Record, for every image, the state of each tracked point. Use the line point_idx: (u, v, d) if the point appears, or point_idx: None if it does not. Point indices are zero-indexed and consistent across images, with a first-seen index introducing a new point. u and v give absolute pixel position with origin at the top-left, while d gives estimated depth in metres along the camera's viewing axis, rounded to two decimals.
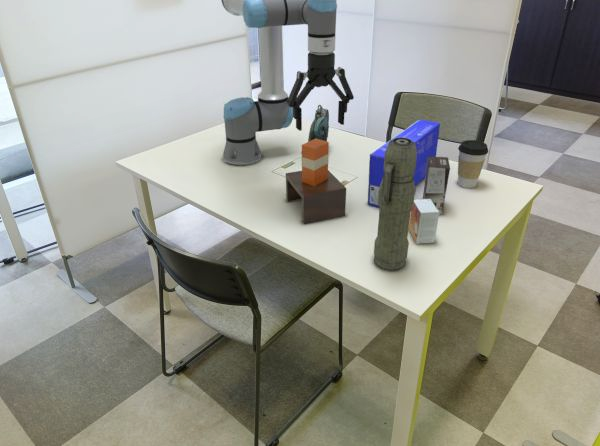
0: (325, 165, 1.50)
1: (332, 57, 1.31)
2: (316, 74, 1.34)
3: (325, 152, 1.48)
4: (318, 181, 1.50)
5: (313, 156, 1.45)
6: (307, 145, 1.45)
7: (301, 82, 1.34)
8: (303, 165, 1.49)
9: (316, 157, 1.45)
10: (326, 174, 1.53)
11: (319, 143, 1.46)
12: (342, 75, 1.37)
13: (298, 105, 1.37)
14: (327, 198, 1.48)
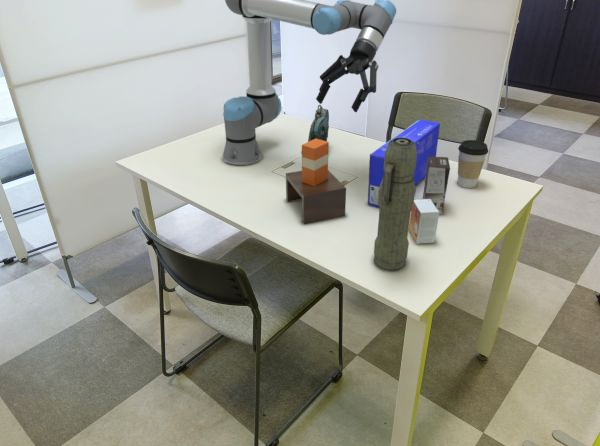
0: (325, 165, 1.50)
1: None
2: None
3: (325, 152, 1.48)
4: (318, 181, 1.50)
5: (313, 156, 1.45)
6: (307, 145, 1.45)
7: None
8: (303, 165, 1.49)
9: (316, 157, 1.45)
10: (326, 174, 1.53)
11: (319, 143, 1.46)
12: None
13: None
14: (327, 198, 1.48)
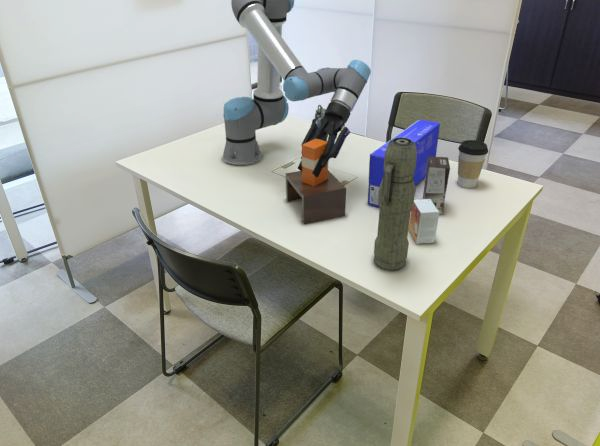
0: None
1: None
2: None
3: None
4: (318, 181, 1.50)
5: (313, 156, 1.45)
6: (307, 145, 1.45)
7: None
8: (303, 165, 1.49)
9: (316, 157, 1.45)
10: (326, 174, 1.53)
11: (319, 143, 1.46)
12: None
13: None
14: (327, 198, 1.48)
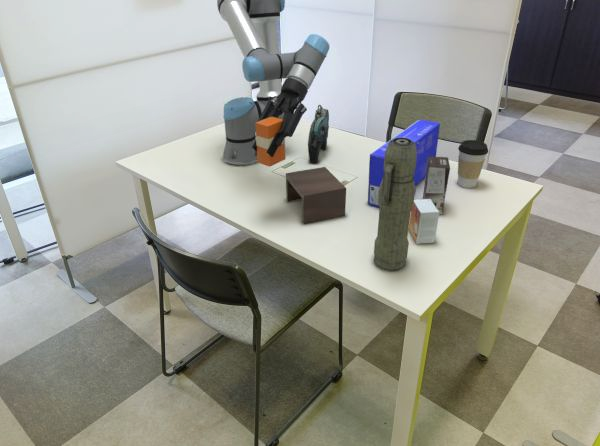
0: (281, 145, 1.43)
1: None
2: None
3: None
4: (274, 161, 1.43)
5: (267, 134, 1.37)
6: (261, 123, 1.38)
7: None
8: (258, 144, 1.42)
9: (270, 135, 1.38)
10: (283, 154, 1.45)
11: (274, 121, 1.39)
12: None
13: None
14: (327, 198, 1.48)
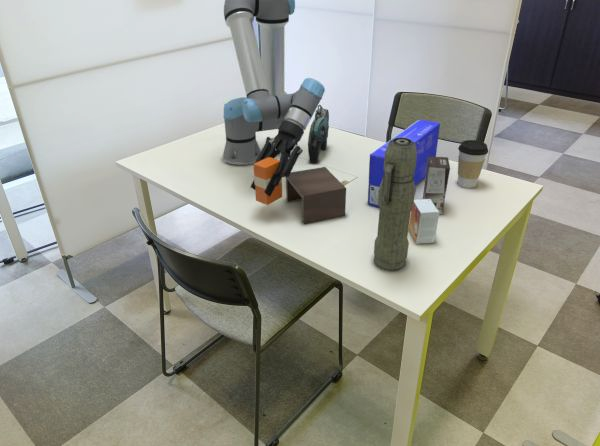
0: (278, 184, 1.49)
1: None
2: None
3: None
4: (272, 199, 1.50)
5: (264, 175, 1.44)
6: (259, 164, 1.44)
7: None
8: (256, 184, 1.48)
9: (268, 176, 1.44)
10: (280, 192, 1.52)
11: (271, 162, 1.46)
12: None
13: None
14: (327, 198, 1.48)
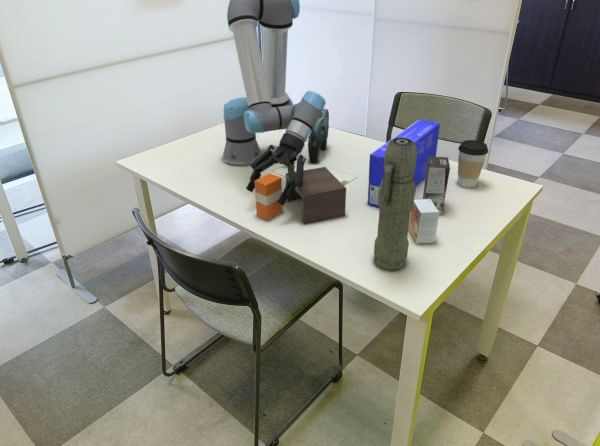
0: None
1: None
2: None
3: (278, 187, 1.50)
4: (272, 215, 1.52)
5: (265, 192, 1.46)
6: (259, 181, 1.47)
7: None
8: (257, 200, 1.51)
9: (268, 193, 1.47)
10: (281, 208, 1.55)
11: (272, 179, 1.48)
12: None
13: None
14: (327, 198, 1.48)
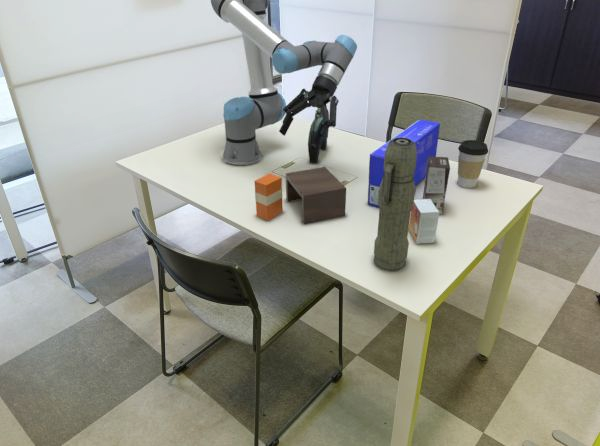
0: (278, 200, 1.52)
1: None
2: None
3: (278, 187, 1.50)
4: (272, 215, 1.52)
5: (265, 192, 1.46)
6: (259, 181, 1.47)
7: None
8: (257, 200, 1.51)
9: (268, 193, 1.47)
10: (281, 208, 1.55)
11: (272, 179, 1.48)
12: None
13: None
14: (327, 198, 1.48)
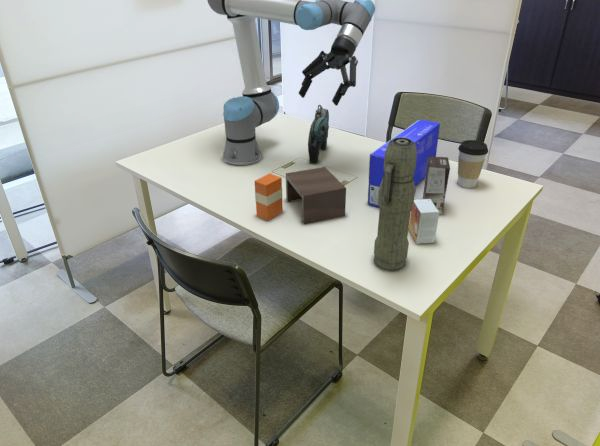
0: (278, 200, 1.52)
1: None
2: None
3: (278, 187, 1.50)
4: (272, 215, 1.52)
5: (265, 192, 1.46)
6: (259, 181, 1.47)
7: None
8: (257, 200, 1.51)
9: (268, 193, 1.47)
10: (281, 208, 1.55)
11: (272, 179, 1.48)
12: None
13: None
14: (327, 198, 1.48)
